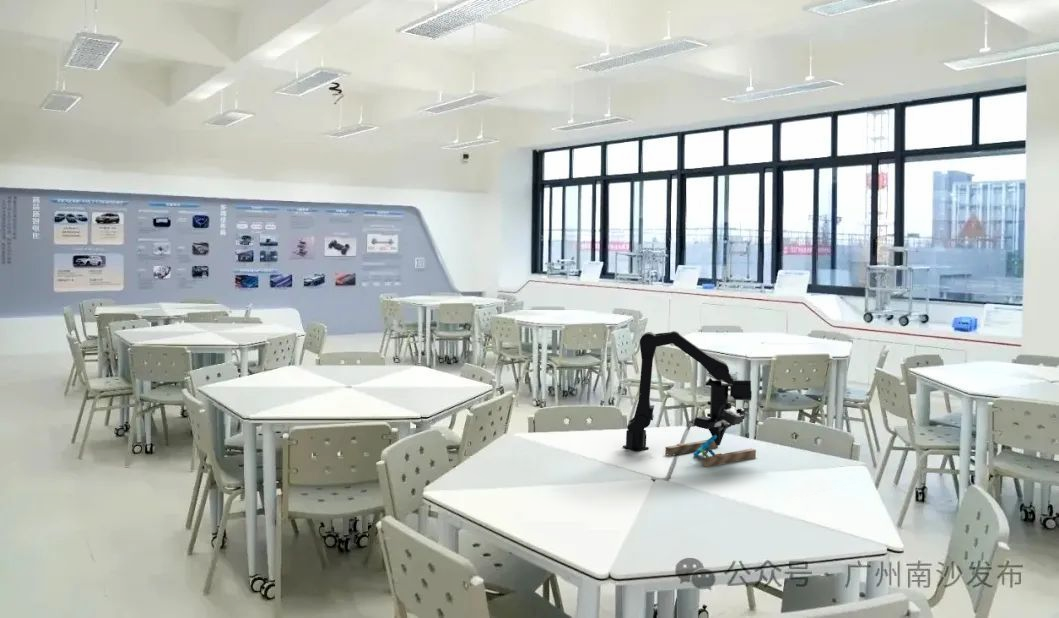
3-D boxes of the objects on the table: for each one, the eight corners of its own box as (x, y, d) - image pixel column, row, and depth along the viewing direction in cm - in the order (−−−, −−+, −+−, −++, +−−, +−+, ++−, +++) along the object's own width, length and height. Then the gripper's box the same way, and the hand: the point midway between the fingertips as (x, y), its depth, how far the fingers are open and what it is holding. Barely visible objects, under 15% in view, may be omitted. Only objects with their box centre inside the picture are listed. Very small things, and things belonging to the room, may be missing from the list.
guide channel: (707, 467, 252) (707, 458, 251) (665, 454, 266) (665, 446, 266) (755, 457, 266) (756, 448, 266) (713, 445, 280) (713, 437, 280)
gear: (696, 446, 270) (717, 429, 266) (708, 459, 269) (730, 442, 265) (687, 458, 261) (708, 440, 256) (700, 472, 260) (722, 454, 255)
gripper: (719, 406, 254) (718, 454, 255) (756, 400, 266) (755, 446, 267) (693, 400, 263) (691, 447, 264) (729, 394, 274) (728, 439, 276)
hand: (717, 445), depth 268 cm, fingers closed
